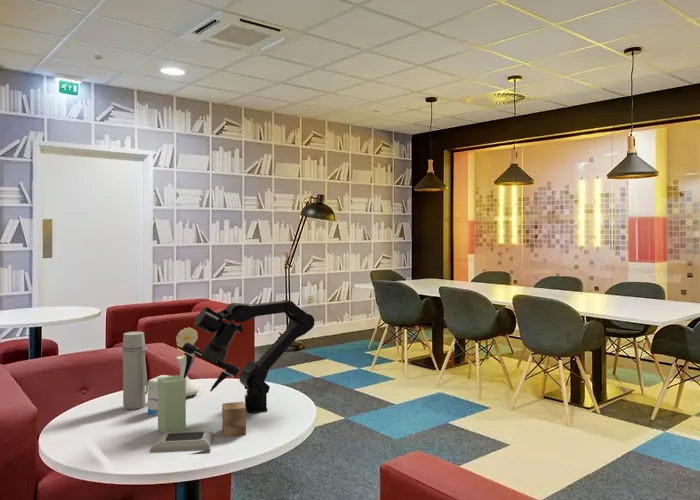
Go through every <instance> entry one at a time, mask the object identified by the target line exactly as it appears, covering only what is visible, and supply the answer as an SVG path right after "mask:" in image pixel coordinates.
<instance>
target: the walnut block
mask: <svg viewBox="0 0 700 500" xmlns="http://www.w3.org/2000/svg"><path fill="white" fill-rule="evenodd" d="M221 404H222V405H221V406H222V407H221V408H222V410H221V411H222V412H221V414H222V416H221V417H222V420H221V422H222V423H221V426H222V427H221V428H222V429H221V430H222V434H223V437H224V438H228V437H229V438H230V437H239V436H245V435H247V410H246V407H245V402H244V401H236V402H235V401H234V402H223V403H221Z"/></svg>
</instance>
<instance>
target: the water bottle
mask: <svg viewBox="0 0 700 500" xmlns="http://www.w3.org/2000/svg"><path fill="white" fill-rule="evenodd" d="M148 348H149V347H148V346H147V345H146V339H145V332H143V331H128V332H124V333H123V337H122V346H121V349H122V389H123V390H122V392H123V393H122V398H123V400H122V405H123V406H122V407H123V408H124V409H126V410H138V409H141V408H143V407H145V406H146V395H148V382H149V381H148V373H147V364H146V363H147V362H146V350H148Z"/></svg>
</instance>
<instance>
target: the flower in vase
mask: <svg viewBox="0 0 700 500" xmlns="http://www.w3.org/2000/svg"><path fill="white" fill-rule="evenodd" d="M198 335H199V334H198V331H197V330H196V329H194V328H193V327H189V326H188V327H187V328H186V327H184V328H183V329H181V330H179V332H178V333H177V335H176V336H175V340H176V346H177V347H176V349H177V350H178V351H180V352H181V353H183V354H184V353H185V351H183V350H181V349H180V348H182V347H183V346H184V344H185V343H190V344H192V345H194V346H195V343H196V342H197V341H198V338H199V336H198ZM178 347H179V348H178ZM175 359H176V360H177V362H178V364H179V368H180V369H179V376H180V377H182V378H184V373H185V368H186V355H180V356H176V358H175ZM185 379H186V397H190V396H194V395H196V394H198V393H199V391H200V390H201V388H200V386H199V385H198V384H197V383H196V382H194V381H193V380H191V379H190V378H189V376H188V375H187V376H186V378H185Z"/></svg>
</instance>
